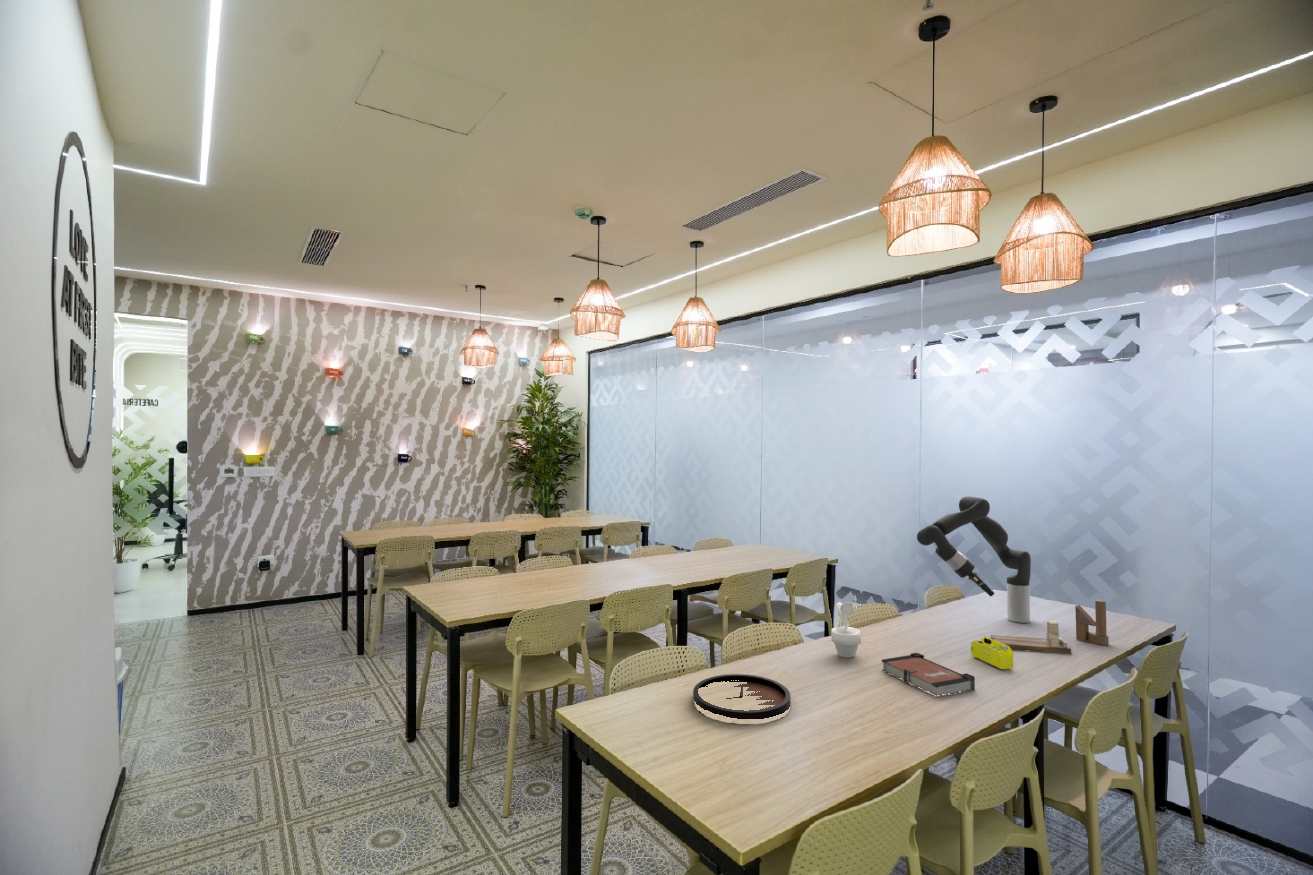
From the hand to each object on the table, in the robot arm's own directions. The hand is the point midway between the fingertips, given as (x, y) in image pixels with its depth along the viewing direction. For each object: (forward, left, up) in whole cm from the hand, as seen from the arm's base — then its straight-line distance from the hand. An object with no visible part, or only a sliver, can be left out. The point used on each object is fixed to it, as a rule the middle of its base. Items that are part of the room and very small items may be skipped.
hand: (990, 592), depth 253 cm
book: (+47, -32, -23) cm, 61 cm away
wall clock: (+83, -92, -22) cm, 126 cm away
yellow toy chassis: (+23, -5, -22) cm, 32 cm away
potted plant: (+27, -58, -22) cm, 68 cm away
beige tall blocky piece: (0, +23, -20) cm, 30 cm away
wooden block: (-15, +42, -22) cm, 50 cm away
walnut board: (-2, +15, -22) cm, 26 cm away
